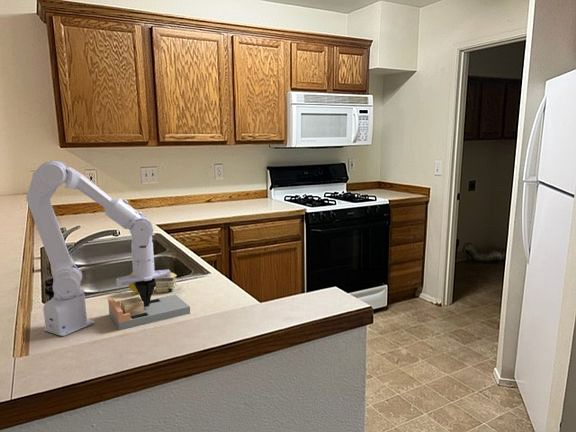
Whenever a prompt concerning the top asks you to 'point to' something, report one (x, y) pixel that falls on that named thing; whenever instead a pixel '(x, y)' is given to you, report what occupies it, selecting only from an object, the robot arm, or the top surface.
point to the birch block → (132, 306)
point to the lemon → (133, 287)
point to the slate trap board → (156, 312)
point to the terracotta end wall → (118, 311)
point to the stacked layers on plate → (166, 283)
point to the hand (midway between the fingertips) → (146, 305)
